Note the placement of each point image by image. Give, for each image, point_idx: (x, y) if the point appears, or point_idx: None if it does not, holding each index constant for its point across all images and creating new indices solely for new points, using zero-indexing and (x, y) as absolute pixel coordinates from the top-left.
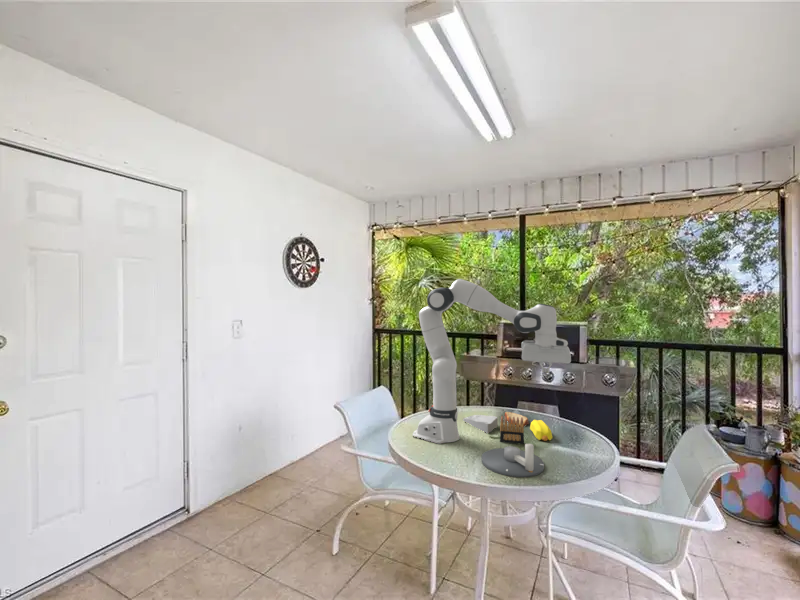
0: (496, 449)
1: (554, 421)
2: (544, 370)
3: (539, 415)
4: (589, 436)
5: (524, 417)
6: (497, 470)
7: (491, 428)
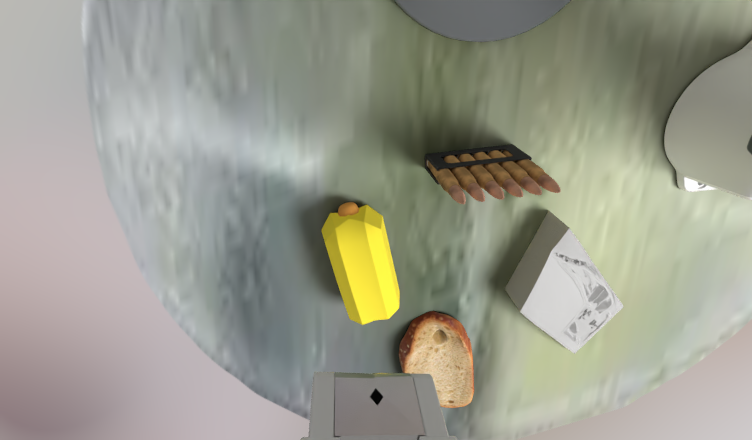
0: (551, 4)
1: None
2: (397, 395)
3: None
4: (200, 308)
5: None
6: None
7: (536, 246)
